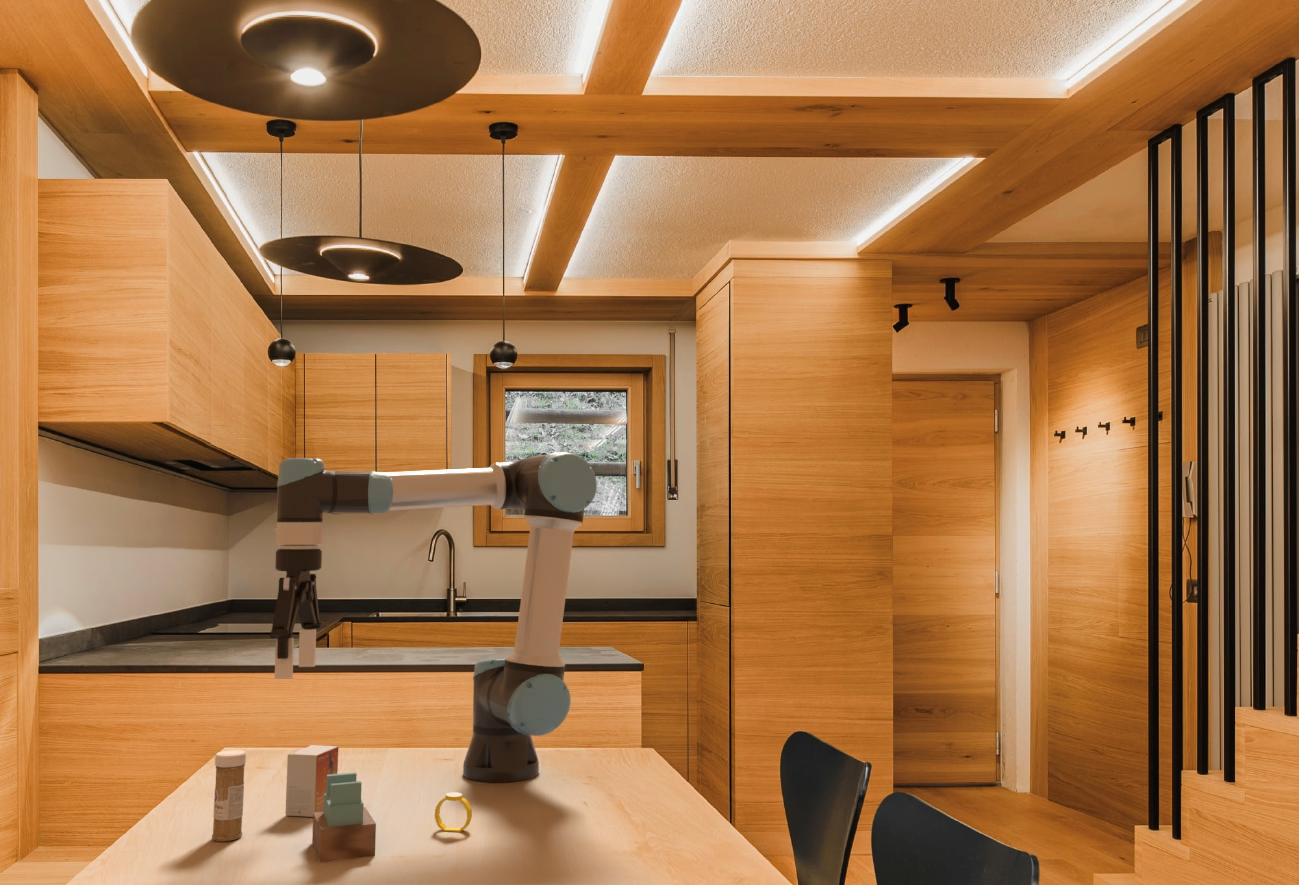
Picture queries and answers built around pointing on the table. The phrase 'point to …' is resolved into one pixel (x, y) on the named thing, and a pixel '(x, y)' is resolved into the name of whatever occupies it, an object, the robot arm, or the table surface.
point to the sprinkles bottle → (229, 795)
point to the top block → (343, 800)
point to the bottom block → (343, 838)
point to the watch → (453, 797)
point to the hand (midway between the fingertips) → (295, 672)
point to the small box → (309, 779)
